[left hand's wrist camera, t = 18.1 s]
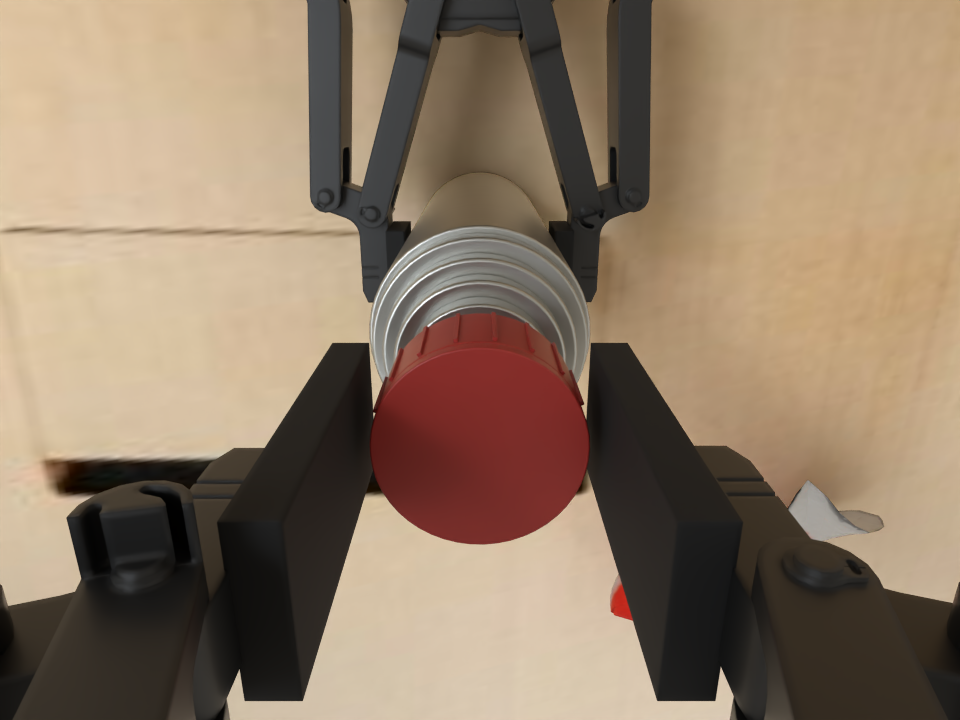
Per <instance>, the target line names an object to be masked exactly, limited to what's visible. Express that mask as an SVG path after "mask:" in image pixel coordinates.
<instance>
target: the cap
mask: <svg viewBox="0 0 960 720" xmlns="http://www.w3.org/2000/svg"><path fill="white" fill-rule="evenodd" d="M582 405H584V402H583V399H582V396H581V394H580V391H579V388H578V385H577V383H576V380H575V377H574V374H573V372H572V370H568V367H567V365H566V363H565V361H564V360H563V358H562V356H561V355H560V353H559V352H558V349H557V346H556V344H555V343H554V342H553V343H552V344H551V343H550V342H549V340H548V339H547V338H545V337H544V336H543V335H542V334H540V333H539V332H538V331H536V330H535V329H533V328H531V327H530V325H529V323H527V322H525V324H524V323H522V322H520V321H517V320H515V319H512V318H508V317H505V316H501V315H496V312H492V313H491V314H484V313H474V314H464V315H460V313H458V314H456V316H455V317H450V318H448V319H445V320H442V321H440V322H437V323H435V324H434V325H432V326H430V327H428V326H425V327H424V328H423V331H422V332H421V333H419V334H418V335H416V336H415V337H414V338H413V339H412V340H411V341H410V342H409V343H408V344H407V345H406V346H405V348H404V349H402V348H400V349H399V351H398V354H397V357H396V360H395V362H394V364H393V366H392V369H391V371H390V374H389V376H388V377H386V376H385V379H384V382H383V384H382V387H381V390H380V393H379V395H378V398H377V401H376V404H375V406H374V409H373V412H374V413H375V416H374V420H373V424H372V427H371V434H370V458H371V463H372V468H373V471H374V474H375V477H376V480H377V482H378V484H379V486H380V488H381V490H382V492H383V493H384V495H385V496H386V498H387V499H388V501H389V502H390V503H391V505H392V506H393V507H394V508H395V509H396V510H397V511H398V512H399V513H400V514H401V515H402V516H403V517H404V518H406V519H407V520H408V521H409V522H411V523H412V524H414V525H415V526H417V527H418V528H420V529H422V530H424V531H426V532H428V533H430V534H432V535H434V536H437V537H440V538H442V539H446V540H450V541H454V542H458V543H466V544H494V543H501V542H506V541H511V540H514V539H517V538H520V537H523V536H525V535H528V534H530V533H532V532H534V531H536V530H538V529H539V528H541V527H543V526H544V525H546V524H548V523H549V522H550V521H551V520H553V519H554V518H555V517H556V516H558V515H559V514H560V513H561V512H562V511H563V510H564V509H565V508H566V507H567V505H568V504H569V503H570V501H571V500H572V499H573V497H574V496H575V494H576V492H577V491H578V489H579V487H580V485H581V483H582V481H583V478H584V476H585V473H586V469H587V465H588V461H589V452H590V434H589V431H588V426H587V421H586V418H585V415H584V412H583V410H582V407H581V406H582Z"/></svg>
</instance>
